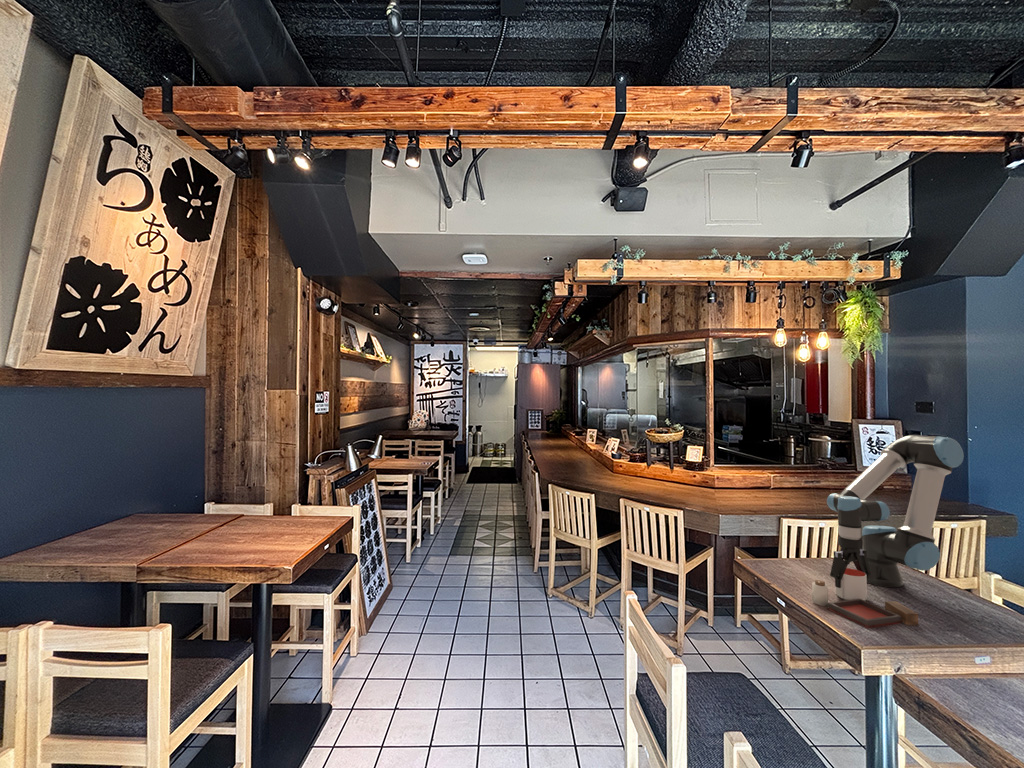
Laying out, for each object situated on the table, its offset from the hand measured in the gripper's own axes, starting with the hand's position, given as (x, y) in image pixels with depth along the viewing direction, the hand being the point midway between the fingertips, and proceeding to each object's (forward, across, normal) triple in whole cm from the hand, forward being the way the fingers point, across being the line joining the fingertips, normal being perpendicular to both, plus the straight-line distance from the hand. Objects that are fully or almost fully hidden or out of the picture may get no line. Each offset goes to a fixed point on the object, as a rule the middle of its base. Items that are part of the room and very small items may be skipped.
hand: (850, 594), depth 184 cm
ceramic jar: (+1, +16, +1) cm, 16 cm away
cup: (+2, 0, 0) cm, 2 cm away
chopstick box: (+2, -1, +18) cm, 18 cm away
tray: (+1, +10, +14) cm, 17 cm away
